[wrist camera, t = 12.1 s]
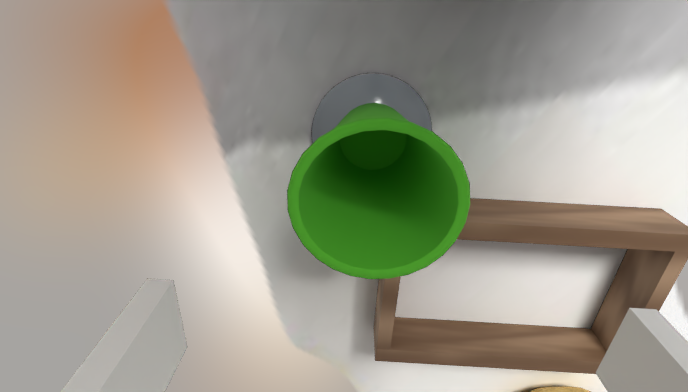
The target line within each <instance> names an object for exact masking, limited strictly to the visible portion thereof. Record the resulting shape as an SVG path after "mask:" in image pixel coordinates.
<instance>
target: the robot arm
mask: <svg viewBox="0 0 688 392" xmlns="http://www.w3.org/2000/svg"><path fill="white" fill-rule="evenodd" d="M186 348H187V344H186V338H185V334H184V329H183V324H182V320H181V314H180V309H179V305H178V300H177V295H176V290H175V285H174V281H173V280H163V279H147V280H146V281H145V282H144V283H143V285H142V286H141V287H140V289H139V290H138V291H137V293H136V294H135V295H134V296H133V298H132V299H131V300H130V302H129V303H128V304H127V306H126V307H125V308H124V310H123V311H122V312H121V313H120V315H119V316H118V317H117V319H116V320H115V322H114V323H113V324H112V325H111V326H110V328H109V329H108V330H107V332H106V333H105V334H104V336H103V337H102V338H101V339H100V341H99V342H98V344H97V345H96V346H95V347H94V349H93V350H92V351H91V353H90V354H89V355H88V357H87V358H86V359H85V360H84V362H83V363H82V364H81V366H80V367H79V368H78V370H77V371H76V372H75V373H74V375H73V376H72V378H71V379H70V380H69V381H68V383H67V384H66V385H65V387H64V388H63V389H62V390H61V392H165V391H166V389H167V387H168V385H169V383H170V380H171V379H172V377H173V375H174V372H175V370H176V368H177V366H178V364H179V362H180V360H181V358H182V356H183V355H184V353H185V351H186ZM596 374H597V376H598V377H599V379H600V380H601V382H602V384H603V385H604V387H605V388H606V390H607V391H608V392H688V342H687V341H686V340H685V338H684V337H683V336H682V335H681V334H680V333H679V332H678V331H677V330H676V329H675V328H674V327H673V326H672V325H671V324H670V323H669V322H668V321H667V320H666V319H665V318H664V317H663V316H662V315H661V314H660V312H659V311H658V310H657V309H642V308H629V310H628V312H627V313H626V315H625V317H624V319H623V321H622V323H621V325H620V327H619V329H618V331H617V333H616V335H615V336H614V338H613V340H612V342H611V344H610V346H609V348H608V350H607V352H606V354H605V356H604V358H603V359H602V361H601V363H600V365H599V367H598V369H597V371H596Z"/></svg>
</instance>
